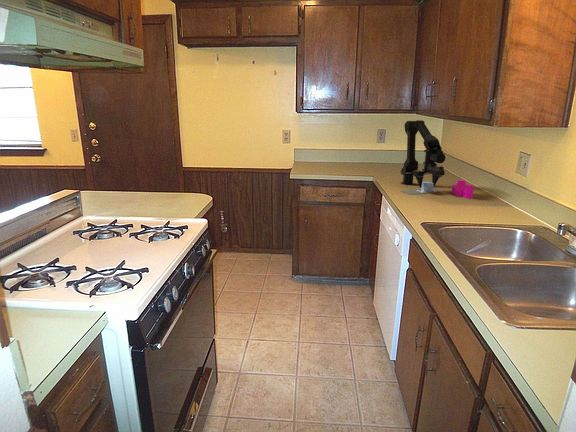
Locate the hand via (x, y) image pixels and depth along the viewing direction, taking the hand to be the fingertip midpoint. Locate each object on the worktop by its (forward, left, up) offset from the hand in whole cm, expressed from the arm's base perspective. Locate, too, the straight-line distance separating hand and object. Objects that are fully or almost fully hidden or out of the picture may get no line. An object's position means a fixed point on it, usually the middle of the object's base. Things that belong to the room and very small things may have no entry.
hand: (427, 187), depth 232 cm
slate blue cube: (0, 0, -2) cm, 2 cm away
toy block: (+14, +13, -3) cm, 20 cm away
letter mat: (0, -4, -2) cm, 4 cm away
